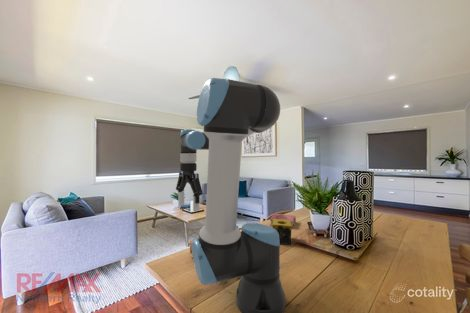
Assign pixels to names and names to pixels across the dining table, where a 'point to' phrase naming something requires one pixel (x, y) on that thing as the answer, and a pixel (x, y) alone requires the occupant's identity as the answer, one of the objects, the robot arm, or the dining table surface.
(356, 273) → the dining table surface
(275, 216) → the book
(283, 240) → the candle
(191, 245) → the cam capstan
